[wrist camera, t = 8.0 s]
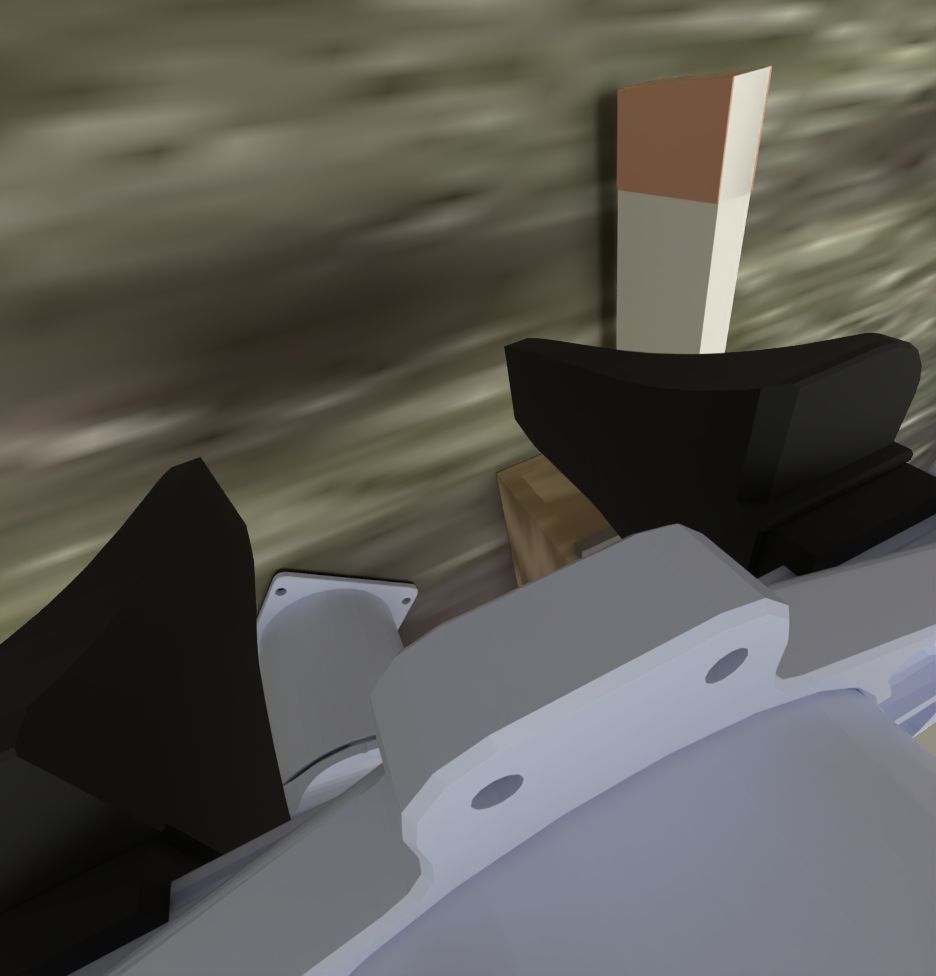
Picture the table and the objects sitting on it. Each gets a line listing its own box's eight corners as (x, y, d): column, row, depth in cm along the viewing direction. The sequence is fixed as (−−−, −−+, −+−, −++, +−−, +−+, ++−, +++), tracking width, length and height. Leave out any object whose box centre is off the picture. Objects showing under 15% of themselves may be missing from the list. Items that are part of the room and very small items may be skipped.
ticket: (633, 491, 29) (694, 544, 25) (614, 499, 29) (673, 555, 25) (649, 80, 17) (772, 65, 13) (617, 89, 17) (733, 76, 13)
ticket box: (686, 545, 38) (775, 623, 32) (525, 623, 35) (588, 725, 29) (712, 374, 28) (844, 439, 22) (494, 464, 26) (577, 565, 20)
